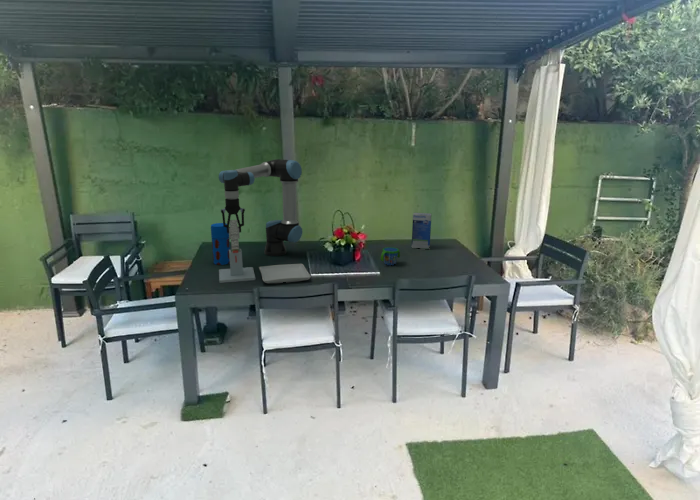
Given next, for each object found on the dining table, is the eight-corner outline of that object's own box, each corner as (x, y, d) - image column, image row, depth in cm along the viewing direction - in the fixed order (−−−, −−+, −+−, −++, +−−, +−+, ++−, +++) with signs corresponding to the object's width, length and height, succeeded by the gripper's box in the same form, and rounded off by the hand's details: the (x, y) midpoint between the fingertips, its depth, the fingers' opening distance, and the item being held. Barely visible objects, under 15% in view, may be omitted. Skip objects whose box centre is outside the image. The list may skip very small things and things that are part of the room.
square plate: (311, 282, 253) (311, 276, 252) (263, 287, 245) (263, 280, 244) (302, 268, 278) (302, 262, 277) (258, 271, 270) (258, 265, 269)
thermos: (225, 265, 280) (223, 227, 273) (210, 264, 282) (207, 226, 275) (233, 260, 290) (231, 223, 283) (218, 259, 292) (215, 222, 285)
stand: (252, 269, 273) (251, 243, 269) (255, 280, 255) (254, 252, 250) (219, 271, 268) (217, 246, 263) (219, 282, 249) (217, 255, 245)
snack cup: (394, 260, 295) (395, 245, 293) (404, 264, 287) (405, 249, 284) (375, 264, 287) (376, 248, 284) (385, 268, 279) (386, 252, 276)
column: (239, 262, 262) (237, 219, 255) (239, 264, 258) (237, 221, 251) (232, 263, 261) (229, 220, 254) (232, 265, 257) (229, 221, 250)
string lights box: (429, 247, 328) (432, 213, 320) (429, 250, 320) (431, 215, 313) (411, 246, 330) (413, 212, 323) (410, 248, 323) (412, 214, 316)
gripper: (247, 196, 254) (249, 235, 261) (216, 197, 250) (219, 237, 256) (248, 198, 247) (250, 238, 254) (216, 199, 243) (219, 240, 249)
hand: (234, 238), depth 255 cm, fingers closed on column, 4 cm apart
